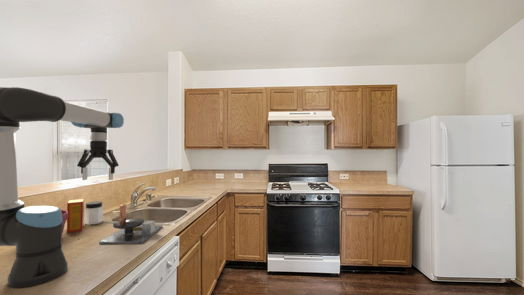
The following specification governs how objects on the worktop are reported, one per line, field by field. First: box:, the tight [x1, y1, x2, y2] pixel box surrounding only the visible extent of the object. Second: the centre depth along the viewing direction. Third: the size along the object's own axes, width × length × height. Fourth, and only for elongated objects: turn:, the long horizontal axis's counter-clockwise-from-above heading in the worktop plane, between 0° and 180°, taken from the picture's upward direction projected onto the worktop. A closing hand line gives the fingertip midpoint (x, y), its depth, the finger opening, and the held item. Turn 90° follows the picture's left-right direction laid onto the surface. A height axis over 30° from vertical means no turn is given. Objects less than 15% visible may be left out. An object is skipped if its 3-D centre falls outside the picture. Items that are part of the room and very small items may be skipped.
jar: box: [84, 200, 104, 226], centre depth 144 cm, size 9×8×12 cm
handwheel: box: [112, 204, 145, 233], centre depth 123 cm, size 14×17×15 cm
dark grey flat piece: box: [98, 220, 163, 245], centre depth 123 cm, size 24×20×6 cm
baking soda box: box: [66, 198, 85, 233], centre depth 132 cm, size 10×6×16 cm
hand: (97, 179), depth 130 cm, fingers open, 13 cm apart
